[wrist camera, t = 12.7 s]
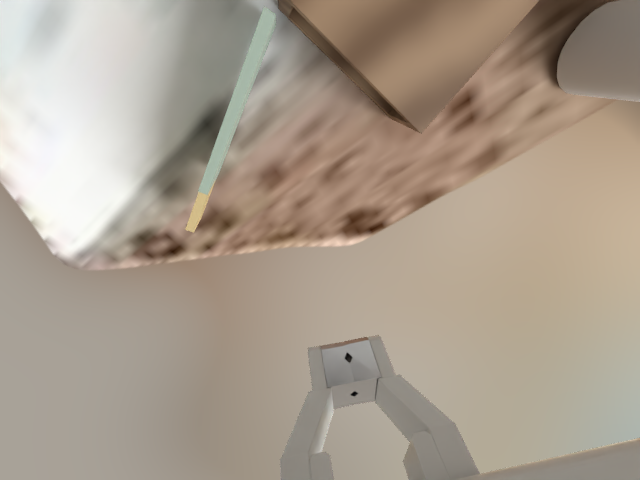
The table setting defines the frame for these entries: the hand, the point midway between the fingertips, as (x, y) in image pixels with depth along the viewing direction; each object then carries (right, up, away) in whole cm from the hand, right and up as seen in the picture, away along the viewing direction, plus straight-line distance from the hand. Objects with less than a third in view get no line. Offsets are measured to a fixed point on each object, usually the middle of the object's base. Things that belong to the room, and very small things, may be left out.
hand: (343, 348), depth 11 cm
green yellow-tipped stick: (-10, +15, +15) cm, 23 cm away
